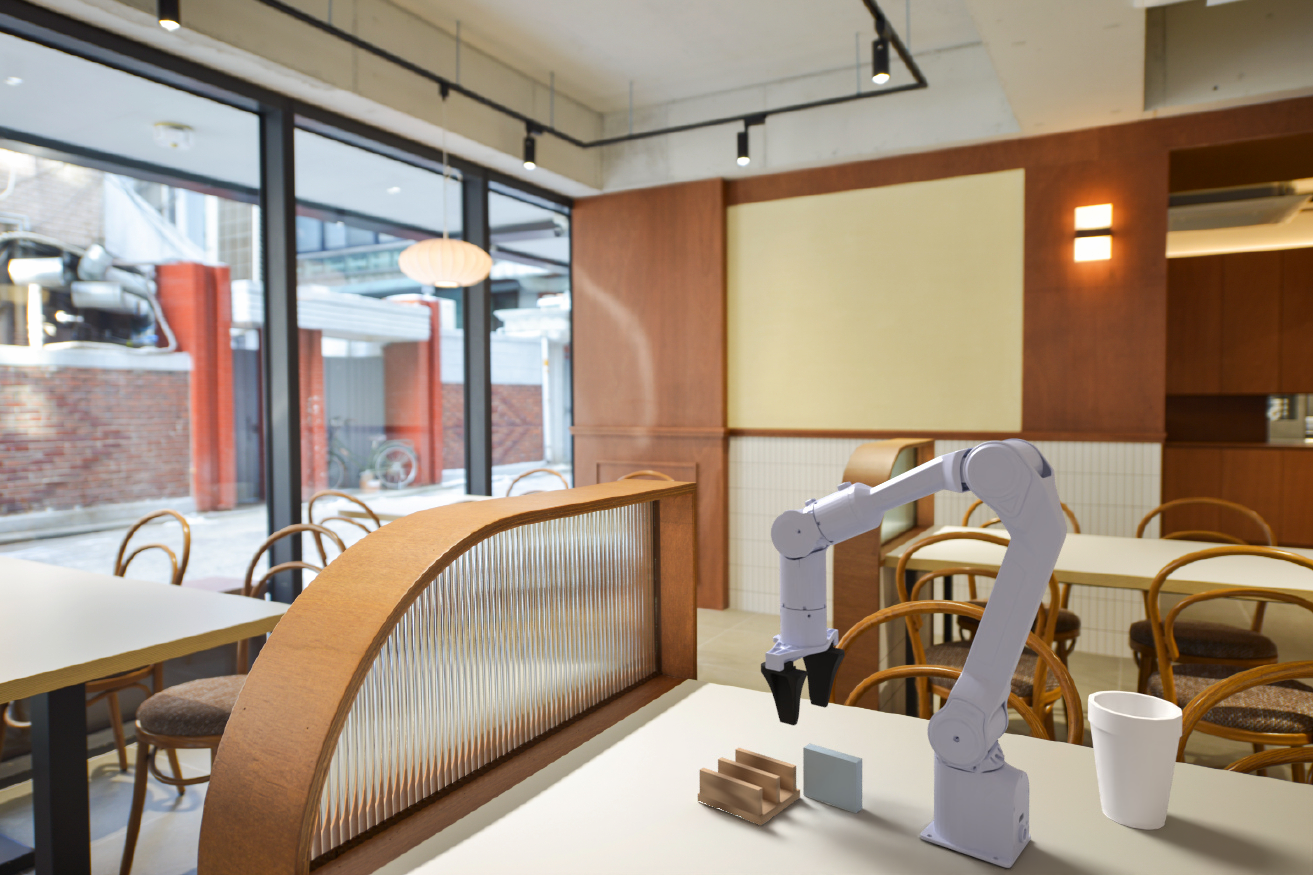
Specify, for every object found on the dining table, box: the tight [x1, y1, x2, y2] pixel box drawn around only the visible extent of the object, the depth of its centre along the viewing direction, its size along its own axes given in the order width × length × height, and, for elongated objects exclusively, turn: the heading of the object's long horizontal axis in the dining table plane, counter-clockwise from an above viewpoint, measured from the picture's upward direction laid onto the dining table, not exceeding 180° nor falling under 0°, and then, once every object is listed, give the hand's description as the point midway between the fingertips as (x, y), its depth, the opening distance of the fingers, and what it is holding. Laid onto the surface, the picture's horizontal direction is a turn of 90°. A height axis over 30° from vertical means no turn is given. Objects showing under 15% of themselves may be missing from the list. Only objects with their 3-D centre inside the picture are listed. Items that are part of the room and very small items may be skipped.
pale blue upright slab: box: [802, 743, 863, 814], centre depth 97 cm, size 7×2×6 cm, turn 50°
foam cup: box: [1087, 690, 1183, 831], centre depth 93 cm, size 10×9×13 cm
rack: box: [697, 747, 801, 826], centre depth 97 cm, size 9×9×4 cm
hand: (804, 713), depth 100 cm, fingers open, 7 cm apart
